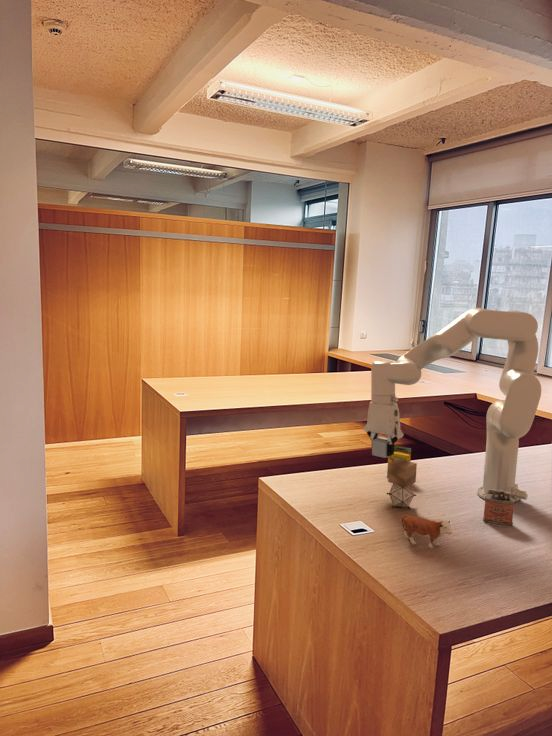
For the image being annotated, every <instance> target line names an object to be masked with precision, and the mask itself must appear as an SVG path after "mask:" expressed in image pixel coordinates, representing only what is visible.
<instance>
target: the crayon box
mask: <svg viewBox="0 0 552 736" xmlns="http://www.w3.org/2000/svg"><path fill="white" fill-rule="evenodd" d="M400 449H402V450H400ZM411 455H412V448H411V447H405V446H401V445H400V446H399V445H394V454H393V455H391V456H389V457H387V469H386V470H387V472H386V473H387V474H386V478H387V479H388V472H389V463H390V462H393V461H395V460H398V459H403V460H406V461H410V462H412V461H411Z"/></svg>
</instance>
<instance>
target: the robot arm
mask: <svg viewBox="0 0 552 736" xmlns="http://www.w3.org/2000/svg"><path fill="white" fill-rule="evenodd" d="M538 330H539V324H538V321H537V319H536V317H535V316H534V315H532V314H531V313H528V312H525V311H519V310H507V311H505V310H494V309H487V308H481V307H473V308H471V309H468V310H467V311H465V312H464V313H462V314H461V315H460V316H459V317H457V318H455V319H454V320H452V321H451V322H450V323H449V324H448V325H447V326H445V327H443V328H442V329H441V330H440V331H438V332H437V333H435V334H434V335H432V336H430V337H428V338H426V340H423V341H422V342H420V343H418V344H417V345H416V346H414V347H413V348H411V349H410V350H408V351H406V353H404V354H403V355H401V357H399V358H397V360H396V361H395V362H394V361H392V360H387V359H384V360H374V361H373V362H372V364H371V367H370V368H371V371H370V372H371V373H370V374H371V378H370V379H371V381H370V383H371V384H370V385H371V387H370V388H371V391H370V392H371V398H370V399H371V401H370V402H369V405H368V411H367V418H366V419H367V423H366V424H365V425H364V426H363V427H362V429H363V430H364V432H365V433H367V436H368V437H369V440H370V441H371V442H372V440H374V439H376V438H379V435H380V434H381V435H385V436H386V438H387V439H388V443H389V444H387V456H391V455H393V454H394V446H395V443H397V442H398V441H399V440H400V439H402V438H403V437H404V436H405V435H404V432H403V430H402V429H401V418H400V410H399V406H398V401H399V398H398V397H397V396H396V385H397V384H398V385H403V386H412V385H415V384H417V383H418V382H420V380H421V378H422V369H424V368H425V367H427V366H429V365H430V364H432V363H434V362H436V361H438V360H442V359H446V358H449V357H452V356H454V355H456V354H457V353H458V352H460V351H461V350H463V349H465V347H466V346H467V345H469V344H470V343H472V342H473V341H475V340H476V339H477V338H482V339H489V340H501V341H502V340H503V341H507V344H508V349H507V350H508V351H507V355H506V360H505V363H504V365H503V369H502V373H501V376H500V378H499V382H498V387H499V390H500V392H501V393H502V394H503V395H504V396H505V399H499V400H496V401H494V402H492V403H491V405H489V407H488V410H487V412H486V416H485V417H486V419H485V420H486V445H485V455H484V456H485V457H484V468H483V481H482V482H483V483H482V486H481V487H479V488H477V492H476V493H477V495H478V496H479V497H480V498H481V499H484V500H485V496H487V495H489V496H492V494H488V489H494V490H498V491H499V490H500V489H502V490H504V491H505V492H511V497H510V498H511V499H514V500H515V503H517V502H519V500H521V499H522V500H525V501H527V500H528V496H529V495H528V493H527V491H526V490H525V491H524V490H520V489H519V485H518V484H516V478H517V477H516V476H517V475H516V474H517V467H518V466H517V465H518V455H519V454H518V453H519V445H520V444H519V443H520V442H519V440H520V438H522V437H524V436H526V434H527V433H528V432H529V431H530V430H531V427H532V425H533V422H534V420H535V416H536V413H537V409H538V407H539V404H540V400H541V396H542V384H541V381H540V380H539V379H538V377H537V376H535V375H534V372H535V368H536V365H537V364H536V363H537V360H538V355H539V341H538V338H537V335H536V334H537V332H538ZM495 496H497V495H495ZM505 497H506V498H507V496H505Z"/></svg>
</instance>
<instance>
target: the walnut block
mask: <svg viewBox="0 0 552 736" xmlns="http://www.w3.org/2000/svg"><path fill="white" fill-rule="evenodd" d="M417 464H418V463H417V462H413V461H406V460H403V459H398V460H395V461H393V462H390V463H389V472H388V478H387V482H388V483H390V484H392V485H393V484H396V485H400V486H403V487H407V486H409V485H410V486H411V485H413V484H414V483H416V480H417V467H418V466H417Z"/></svg>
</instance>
